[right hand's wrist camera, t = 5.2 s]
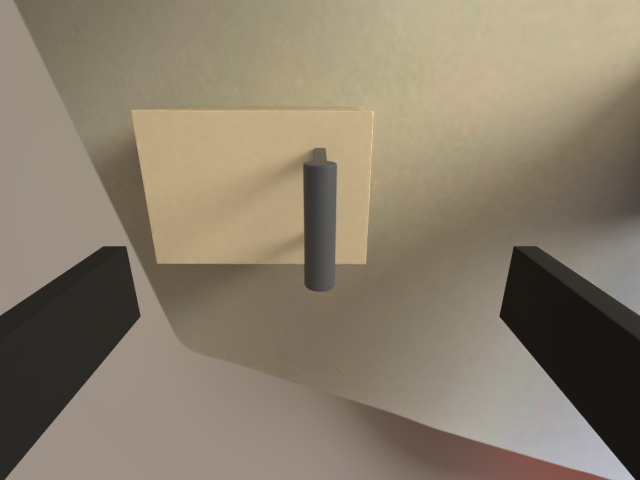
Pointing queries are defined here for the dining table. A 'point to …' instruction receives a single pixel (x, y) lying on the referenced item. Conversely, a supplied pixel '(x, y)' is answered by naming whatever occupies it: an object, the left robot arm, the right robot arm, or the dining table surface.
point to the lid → (258, 187)
